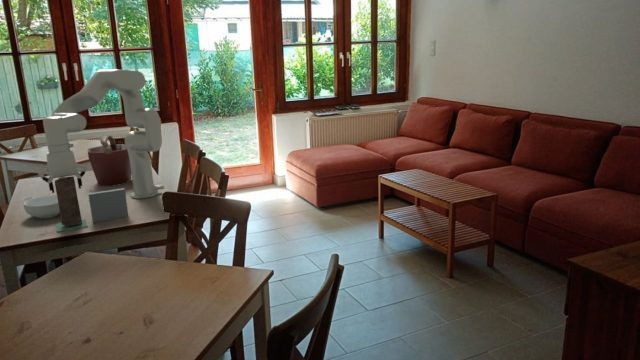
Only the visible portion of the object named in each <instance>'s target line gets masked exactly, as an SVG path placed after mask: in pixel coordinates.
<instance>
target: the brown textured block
mask: <svg viewBox="0 0 640 360" xmlns="http://www.w3.org/2000/svg"><path fill="white" fill-rule="evenodd" d="M54 187H55V192H56V195H57V199H58V204H59V210H60V213H59V216H60V221H61V223H62V225H67V226H71V225H76V224H81V223H82V220H83V219H82V215H81V214H82V213H81V210H80V204H79V203H80V202H79V198H78V193H77V187H76V180H75V177H74V176H66V177H59V178H56V179H55V180H54Z"/></svg>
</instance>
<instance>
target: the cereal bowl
mask: <svg viewBox="0 0 640 360" xmlns="http://www.w3.org/2000/svg"><path fill="white" fill-rule="evenodd" d="M23 208H24V211H25V212H26V214H27V215H29V216H31V217H36V218H38V219H51V218H54V217H56V216H58V215H60V210H59V204H58V199H57V194H56V195H55V194H54V195H53V194H52V195H45V196H39V197H35V198H31V199H29V200H26V201H24V203H23Z"/></svg>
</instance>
